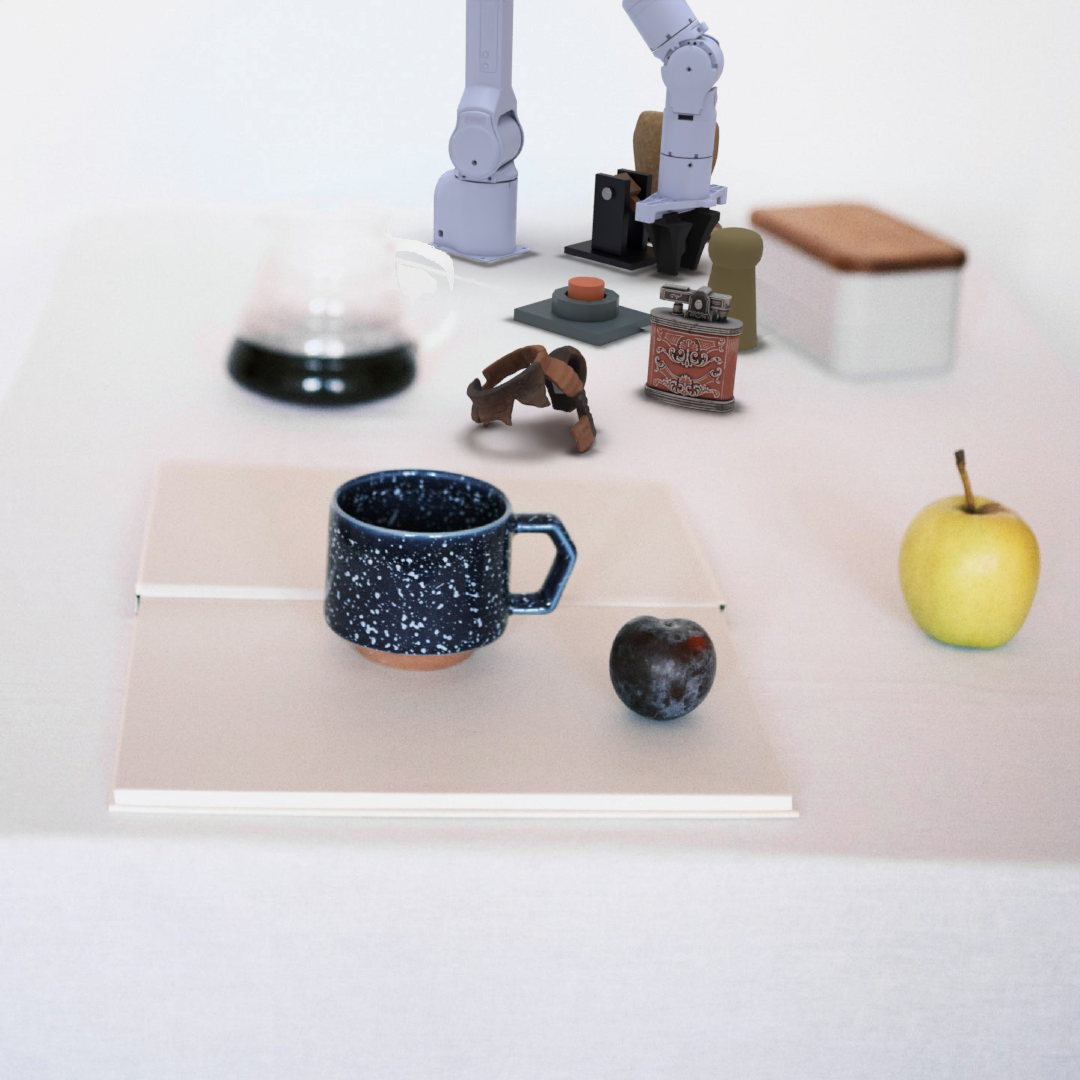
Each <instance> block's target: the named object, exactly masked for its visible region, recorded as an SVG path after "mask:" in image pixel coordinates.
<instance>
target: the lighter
mask: <svg viewBox="0 0 1080 1080" xmlns="http://www.w3.org/2000/svg"><path fill="white" fill-rule="evenodd" d="M690 287H691V286H689V285H688V286H687V285H682V284H675V283H668V282H665V283H663V284H662V285H661V286H660V287H659V300H660V301H661V300H662V301H666V302H673V304H672V306H673V307H667V306H657V307H654V308H652V309H651V310H650V313H649V314H650V321H651V322H652V324H651V328H650V340H649V351H648V362H647V363H648V364H647V378H646V381H645V383H644V390H643V394H644V396H645V397H646V398H649V399H652V400H656V401H659V402H662V403H666V404H671V405H676V406H679V407H685V408H689V409H690V408H691V409H695V410H703V411H709V412H718V413H724V412H730V411H733V410H734V408H735V400H736V397H735V395H734V390H735V381H736V372H737V363H738V356H739V355H738V354H739V351H738V345H739V336H740V334H741V333H742V328H743V322H742V321H740V320H738V319H734V318H730V317H727V315H728V313H729V309H730V307H731V298H732V297H731V296H729V295H724V294H718V293H714V292H713V290H712V289H711V288H710V287H708V285H702V286H700V287H698V289H692V288H690ZM684 304H685V305H687V308H686V309H685V308H684ZM716 309H718V315H717V310H716Z"/></svg>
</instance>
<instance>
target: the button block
mask: <svg viewBox="0 0 1080 1080" xmlns="http://www.w3.org/2000/svg"><path fill="white" fill-rule="evenodd" d="M513 321H516V322H518V323H522V324H526V325H529V326H532V327H535V328H538V329H542V330H546V331H548V332H552V333H554V334H558V335H561V336H565V337H568V338H570V339H574V340H578V341H580V342H584V343H587V344H591V345H593V346H597V347H600V346H603V345H606V344H609V343H612V342H615V341H618V340H621V339H624V338H625V337H629V336H632V335H635V334H638V333H641V332H644V331H646V329H644V327H648V326H650V325H652V322H651V321H650V313H648V312H644V311H641V310H637V309H634V308H631V307H626V306H623V305H620V294H619V293H617V292H616V291H615V290H613V289H610V288H606V287H605V288H604V299H601V300H595V301H584V300H575V299H572V298H568V285H566V286H562V287H559V288H558V287H557V288H555V289H554V291H553V292H552V293H551V297H549V298H546V299H542V300H539V301H536V302H533V303H529V304H525V305H522V306H518V307H515V308H514V309H513Z"/></svg>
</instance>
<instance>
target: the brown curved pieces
mask: <svg viewBox="0 0 1080 1080" xmlns="http://www.w3.org/2000/svg"><path fill="white" fill-rule="evenodd" d="M521 370H522V371H521ZM481 371H482V372H481V373H482V376H483V377H484V379H485V382H484V383H483V384H482V382H481V380H480V378H479V377H476V378H474V379H473V380H472V381H471V382H470V383H469V384H468V386H467V388H466V395H467V397H468V398H469V399H470V400H471V402H472V405H471V411H470V417H471V421H472V422H475V424H483V425H485V426H488V425H489V424H490V423H492V422H495V421H501V422H502V423H503V424H504V425H507V426H510V427H512V426H513V422H512V416H513V415H512V414H513V410H514V404H515V400H516V401H518V402H519V403H520V404H522V405H523V406H528V407H529V406H531V407H535V408H538V409H545V408H549V407H550V406H551V407H552V409H553V410H555V411H562V412H563V413H572V412H573V411H575V410H576V413H577V419H578V420H577V422H576V423H575V424H574V425H573V427H571V428H570V434H571V435H572V437H573V438H574V439H575V444H576V448H577V452H579V453H584V451H586V450H587V449H588V448H589V447H590V446H591V445H592V444H593V442H594V440H595V438H596V437H597V429H596V427H595V422H594V418H593V414H592V413H591V410H590V406H589V405H588V404H589V399H588V397H587V395H586V394H587V393H586V389H585V387H586V383H587V377H588V366H587V360H586V359H585V357H584V355H583V354H582V352H581V351H580V350H579V349H578V348H576V347H574V346H572V345H563V346H560V347H556V348H554V349H553V350H552V351H551V352H550V353H548V350H547V349H546V347H545V346H544V345H542V344H530V345H525V346H523V347H519V348H516V349H514V350H513V351H511V352H509V353H507V354H505V355H503V356H502V357H500V358H499V359H496V360H494V361H493V362H492V363H490V364H489V365H488V366H486V367H485V368H484V369H482V370H481ZM520 371H521V372H520ZM518 372H520V373H518ZM516 373H518V374H517V375H515V376H514V377H512V378H510V379H509V380H507V381H505V382H503V383H502V381H504V380H505V379H506V378H507V377H511V376H512V375H514V374H516ZM500 383H501V384H500ZM547 393H548V395H549V396H547ZM549 397H550V399H549Z"/></svg>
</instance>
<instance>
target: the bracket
mask: <svg viewBox="0 0 1080 1080" xmlns="http://www.w3.org/2000/svg"><path fill="white" fill-rule="evenodd" d="M622 173H627V174H628V175H629V176H630V177H631V178H632V179H633V180H634V182H635V183H636V184H637V185H638V186H639V187H640V188H641V191H640V193H639V194H638V196H637V197H638V198H639V199H640V200H641V201H643V200H645V199H646V198H648V197H649V196H651V189H652V176H653V175H652V174H647V173H643V172H638V171H635V170H633V169H629V168H617V170H616V175H617V174H622ZM594 174H595V176H594V191H593V207H592V209H593V211H592V212H593V213H592V224H591V225H592V227H591V239H588V240H584V241H581V242H576V243H572V244H569V245H566V246H564V247H563V253H564V254H567V255H570V256H573V257H577V258H582V259H585V260H589V261H593V262H596V263H601V264H605V265H608V266H612V267H615V268H620V269H624V270H627V271H631V272H632V271H636V270H638V269H639V270H640V269H642V268H646V267H649V266H653V265H656V261H655V255H654V251H653V247H652V245H648V241H649V240H648V239H649V238H648V233H647V231H646V229H645V227H644V225H643V223H642V222H641V221H636V220H635V212H634V211H633V210H632V209H631V208H630V206H629V201H630V186H631V179H627V178H623V177H618V176H614V175H613V174H609V173H605V172H598V173H594Z"/></svg>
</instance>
